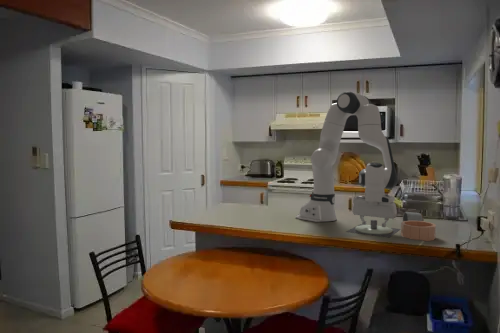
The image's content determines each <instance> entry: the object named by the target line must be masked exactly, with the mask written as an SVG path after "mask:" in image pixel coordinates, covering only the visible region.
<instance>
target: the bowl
mask: <svg viewBox="0 0 500 333" xmlns="http://www.w3.org/2000/svg"><path fill="white" fill-rule="evenodd" d="M436 234H437V224H435V223H433V222H429V221H425V220H424V221H403V220H402V222H401V223H400V235H401V236H402V237H403V238H407V239H410V240H416V241H422V242H430V241H435V240H434V239H436V237H437V235H436Z"/></svg>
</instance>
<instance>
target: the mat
mask: <svg viewBox="0 0 500 333" xmlns="http://www.w3.org/2000/svg"><path fill="white" fill-rule="evenodd" d="M360 225H362V223H361V224H358V225H356V226H354V227H352V228H351V229H348V230H347V231H345V233H352V234H353V233H354V234H359V235H367V236H375V237H381V238H382V237H383V238H388V239H389V238H391V237H392V236H393V235H395V234H396V233H398V232H399V231H401V228H394V227H390V228H391V229H392V230H393V232H392V233H390V234H383V235H375V234H366V233H361V232H358V231H356V230H355V227H357V226H360Z"/></svg>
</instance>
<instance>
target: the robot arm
mask: <svg viewBox="0 0 500 333" xmlns="http://www.w3.org/2000/svg"><path fill="white" fill-rule="evenodd" d="M336 98H337V99H336V102H335V103H332V104H331V105H330V106H329V109H328V111H327V113H326V116H325V118H324V122H323V126H322V128H321V131H320V137H319V144H318V148H317V149H315V150H314V151H313V152H312V154H311V156H310V161H311V168H312V178H313V193H310V194H309V196H308V197H309V198H310V199H309V200H308V201H307V202H305V203H304V204H302V205H301V206H300V209H299V214H296V215H295V219H298V220H299V219H300V220H304V221H309V222H315V223H321V222H332V221H334V222H335V221H336V220H338V219H337V215H336V209H335V208H336V207H335V203H336V196H335V195H336V194H335V176H334V170H333V166H334V165H335V163H336V162H337V158H338V154H339V150H340V146H341V145H340V143H341V139H342V136H343V132H344V130H345V127H346V123H347V120H348V118H349V117H350V116H352V117H356V118H357V131H358V132H357V133H358V137H359V139H360V140H361V141H362V142H363V143H364V144H366V145H368V146H372V147H374V148H376V149H378V150H379V151H380V152H381V154H382V160H383V163H380V162H368V163H367V164H366V167H365V168H362V169H361V170H360V172H358V184H359V185H360V186H361V187H362V188H365V189H364V190H365V191H364V195H356V196H354V197H353V199H352V203H353V206H352V215H354V216H359V219H360V220H361V224H362V225H367V220H365V217H373V218H383V219H384V222H382V223H381V226H382V227H387V223H388V222H389V220H390V219H392V220H394V219H396V218H397V216H398V215H397V214H398V210H397V205H396V203H395V197H394V196H392V195H389V194H387V193H385V189H387V190H391V189H392V190H393V188H395V187H396V186H397V185H398V182H399V177H398V173H397V172H398V171H397V169H396V166H395V161H394V157H393V152H392V147H391V142H390V139H389V138H388V137H387V136H386V135H385V134H384V132H383V130H382V121H381V120H382V119H381V113H380V109H379V107H378V106H377V105H376V104H373V103H372V101H371V100H370V98H368V97H367V96H364V95H362V94H361V93H359V92H358V93H355V92H352V91H345V92H344V91H343V92H342V93H340V94H339V95H338V96H337V97H336Z"/></svg>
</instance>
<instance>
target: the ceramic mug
mask: <svg viewBox="0 0 500 333" xmlns="http://www.w3.org/2000/svg"><path fill="white" fill-rule="evenodd" d="M403 221H425V219H424V215H423V214H422V213H420V212H412V211H410V212H409V211H405V212H404V213H403V215H402V222H403Z"/></svg>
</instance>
